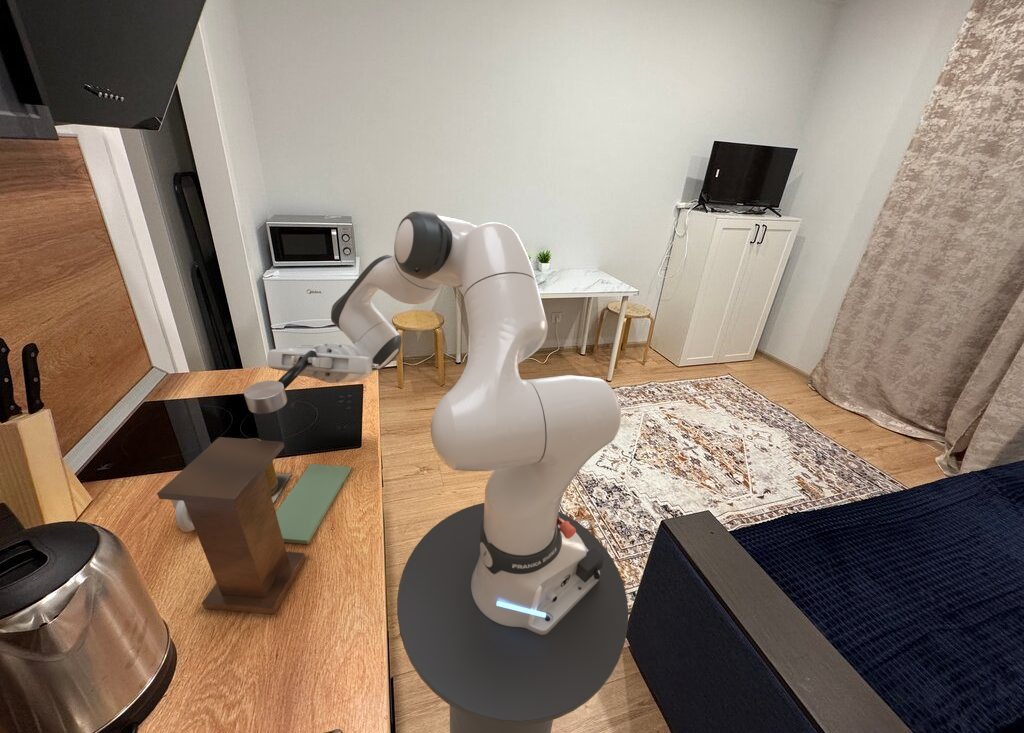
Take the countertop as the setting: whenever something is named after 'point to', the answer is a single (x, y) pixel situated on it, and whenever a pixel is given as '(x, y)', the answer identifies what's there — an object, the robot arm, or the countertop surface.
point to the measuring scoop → (274, 389)
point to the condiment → (274, 479)
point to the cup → (182, 516)
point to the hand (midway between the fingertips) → (302, 361)
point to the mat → (309, 502)
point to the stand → (237, 524)
